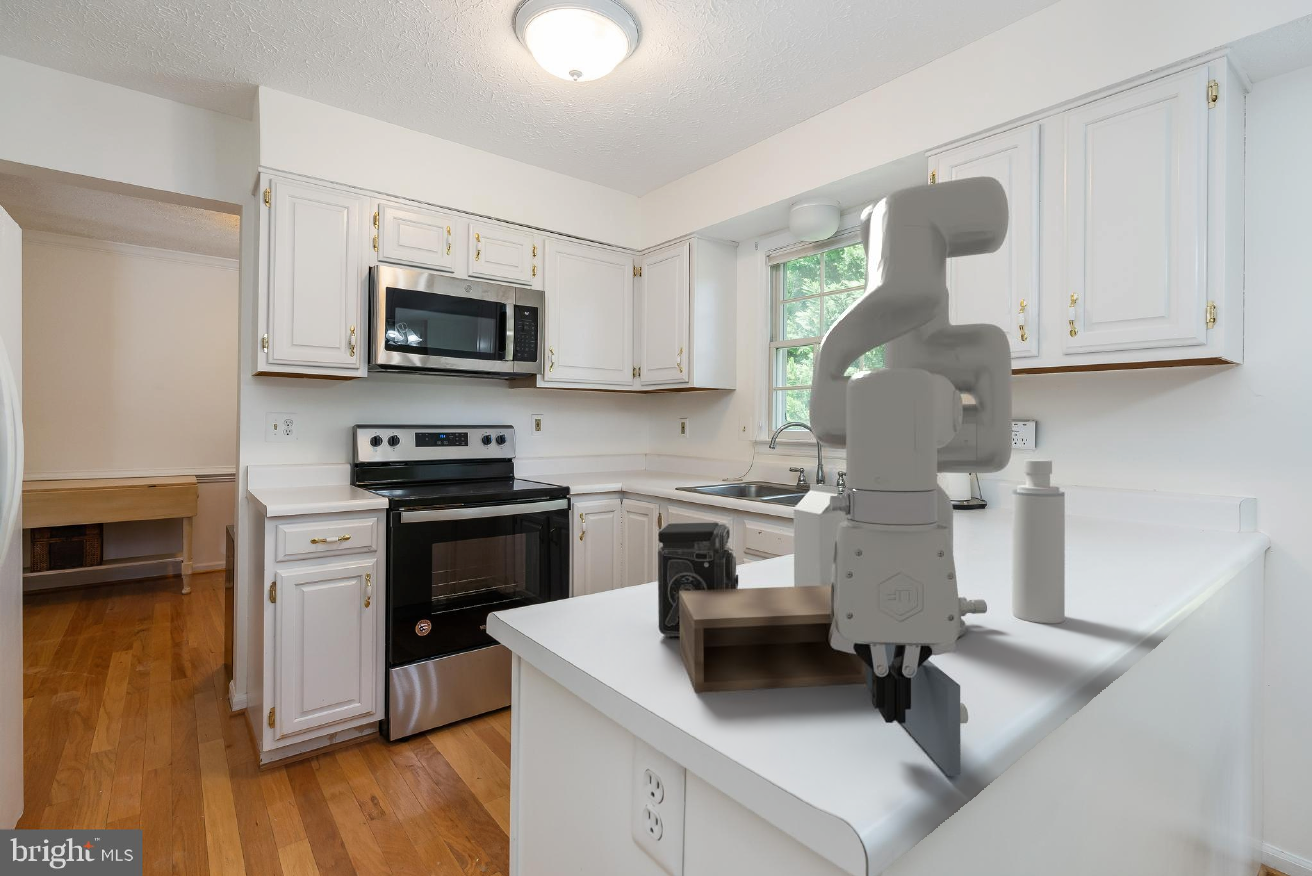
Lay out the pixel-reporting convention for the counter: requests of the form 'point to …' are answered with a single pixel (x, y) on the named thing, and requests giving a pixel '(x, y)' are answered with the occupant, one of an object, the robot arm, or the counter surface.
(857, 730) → the counter surface
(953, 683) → the side door
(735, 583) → the camera
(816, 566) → the milk carton
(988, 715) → the counter surface
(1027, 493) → the spray bottle
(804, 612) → the cabinet
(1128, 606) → the counter surface
